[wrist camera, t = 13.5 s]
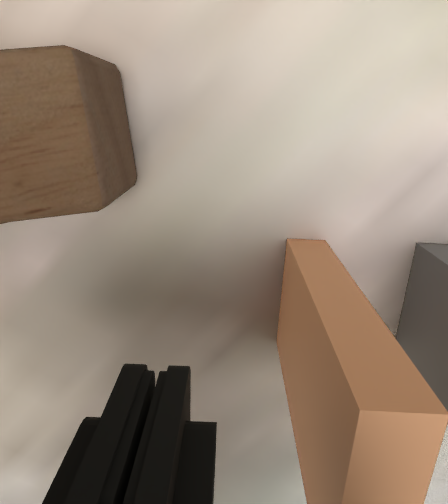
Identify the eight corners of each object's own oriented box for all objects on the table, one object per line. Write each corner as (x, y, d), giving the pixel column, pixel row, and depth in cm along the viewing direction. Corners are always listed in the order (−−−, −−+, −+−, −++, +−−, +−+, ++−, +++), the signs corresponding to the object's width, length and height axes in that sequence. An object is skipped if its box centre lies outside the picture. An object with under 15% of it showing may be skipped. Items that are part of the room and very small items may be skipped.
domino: (311, 343, 18) (396, 596, 9) (276, 342, 18) (323, 591, 9) (325, 240, 16) (449, 414, 7) (286, 238, 16) (360, 410, 7)
